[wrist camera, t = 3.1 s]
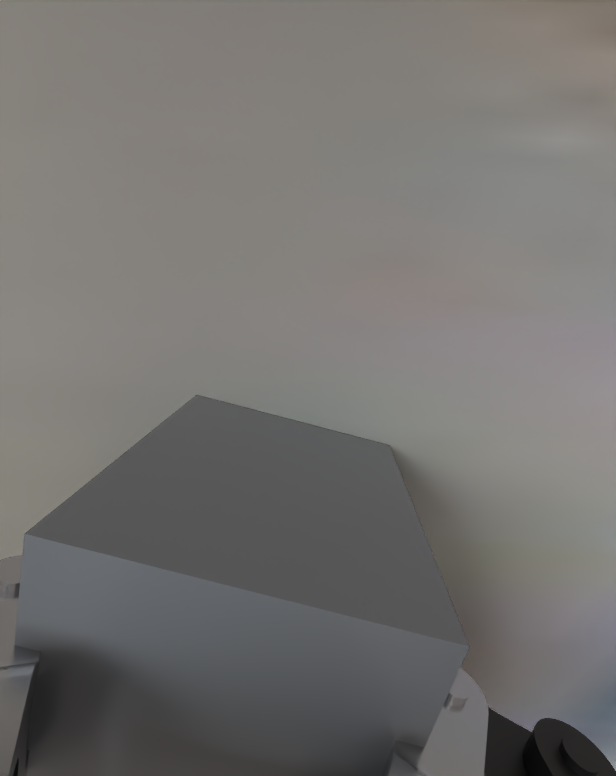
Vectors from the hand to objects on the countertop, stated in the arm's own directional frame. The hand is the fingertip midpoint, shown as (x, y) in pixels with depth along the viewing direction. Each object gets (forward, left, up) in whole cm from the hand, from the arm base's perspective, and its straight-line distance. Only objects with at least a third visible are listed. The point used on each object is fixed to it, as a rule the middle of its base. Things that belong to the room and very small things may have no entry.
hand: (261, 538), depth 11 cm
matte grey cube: (0, 0, -2) cm, 2 cm away
